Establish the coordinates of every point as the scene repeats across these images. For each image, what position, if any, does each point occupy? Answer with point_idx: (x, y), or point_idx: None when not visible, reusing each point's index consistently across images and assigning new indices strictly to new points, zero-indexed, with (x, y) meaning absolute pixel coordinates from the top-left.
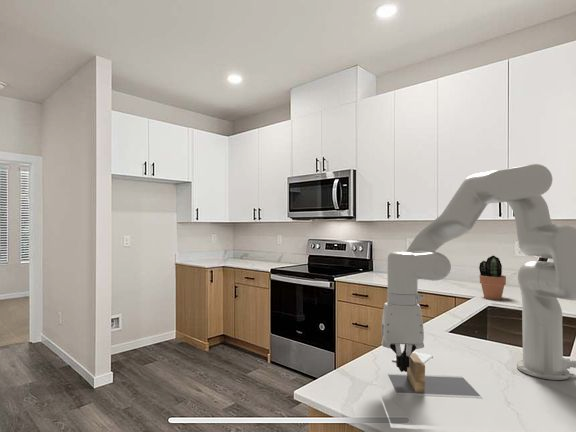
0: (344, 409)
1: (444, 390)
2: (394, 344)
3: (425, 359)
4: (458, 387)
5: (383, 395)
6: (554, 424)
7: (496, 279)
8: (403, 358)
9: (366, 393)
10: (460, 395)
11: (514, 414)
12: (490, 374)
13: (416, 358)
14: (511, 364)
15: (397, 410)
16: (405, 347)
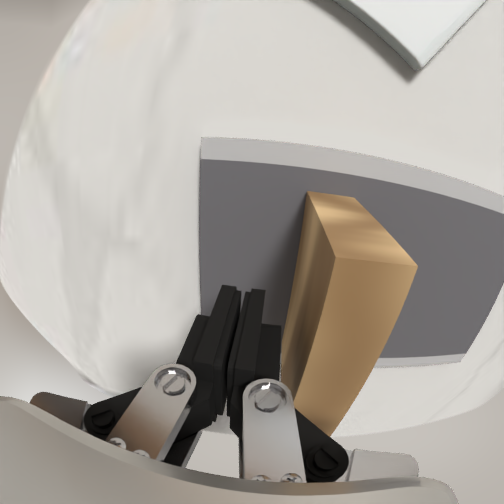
0: (84, 366)
1: (400, 332)
2: (127, 434)
3: (471, 4)
4: (461, 306)
5: (160, 331)
6: (473, 405)
7: None
8: (223, 408)
9: (110, 312)
10: (421, 358)
11: (455, 395)
12: None
13: (343, 379)
14: None
15: None
16: (251, 437)
